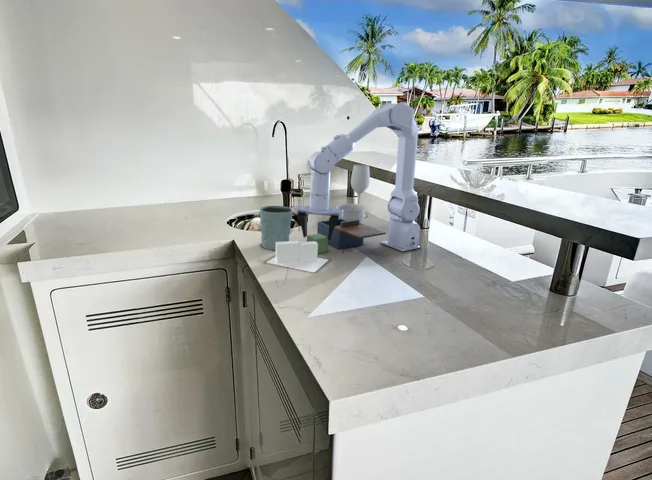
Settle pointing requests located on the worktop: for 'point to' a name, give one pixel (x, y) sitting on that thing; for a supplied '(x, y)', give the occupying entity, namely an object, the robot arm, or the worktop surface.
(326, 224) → the tin
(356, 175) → the wineglass
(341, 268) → the worktop surface
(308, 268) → the twin cubes on base
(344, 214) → the teacup
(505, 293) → the worktop surface
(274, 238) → the teal plant pot
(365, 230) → the tin lid
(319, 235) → the block
